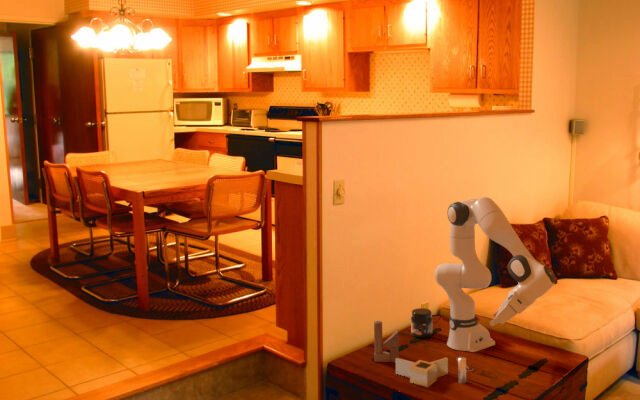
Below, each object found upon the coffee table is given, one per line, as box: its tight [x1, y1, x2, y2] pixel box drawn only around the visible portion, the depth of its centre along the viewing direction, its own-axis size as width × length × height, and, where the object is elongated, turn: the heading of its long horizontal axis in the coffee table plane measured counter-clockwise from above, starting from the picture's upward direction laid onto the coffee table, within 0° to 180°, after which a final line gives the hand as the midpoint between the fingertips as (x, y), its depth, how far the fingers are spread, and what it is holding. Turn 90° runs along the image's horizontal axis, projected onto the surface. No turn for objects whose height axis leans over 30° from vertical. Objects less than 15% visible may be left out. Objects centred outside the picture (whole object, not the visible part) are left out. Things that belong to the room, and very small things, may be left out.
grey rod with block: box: [373, 320, 400, 363], centre depth 277 cm, size 4×11×18 cm, turn 81°
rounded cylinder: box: [457, 356, 467, 384], centre depth 254 cm, size 3×3×10 cm
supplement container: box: [410, 307, 433, 339], centre depth 306 cm, size 10×10×12 cm
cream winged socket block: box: [394, 356, 449, 388], centre depth 262 cm, size 18×16×7 cm
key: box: [455, 357, 475, 372], centre depth 272 cm, size 6×1×15 cm
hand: (492, 320), depth 246 cm, fingers open, 8 cm apart
